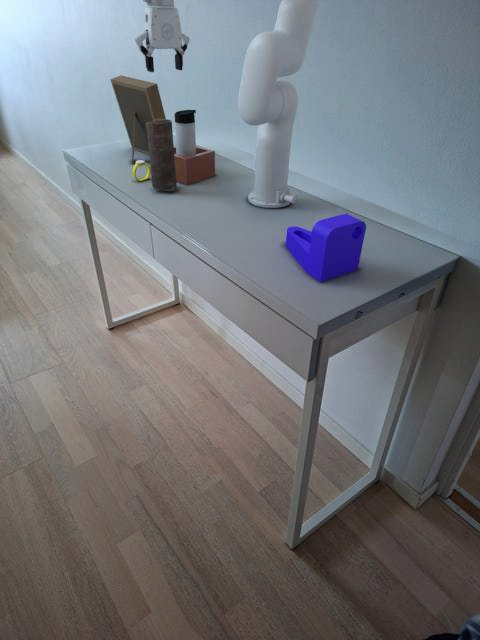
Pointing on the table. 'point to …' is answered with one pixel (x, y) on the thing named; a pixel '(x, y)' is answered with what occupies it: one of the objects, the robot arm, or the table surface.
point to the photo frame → (137, 108)
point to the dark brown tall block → (161, 154)
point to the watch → (139, 162)
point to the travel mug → (185, 133)
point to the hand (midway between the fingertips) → (165, 70)
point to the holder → (195, 166)
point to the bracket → (328, 246)
